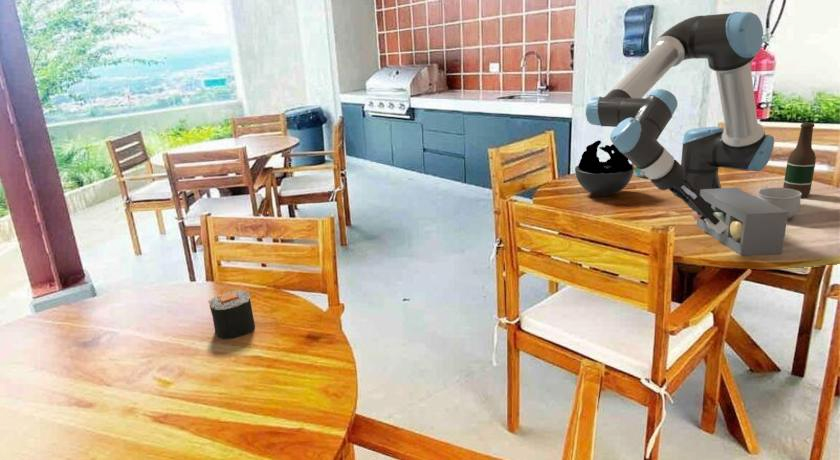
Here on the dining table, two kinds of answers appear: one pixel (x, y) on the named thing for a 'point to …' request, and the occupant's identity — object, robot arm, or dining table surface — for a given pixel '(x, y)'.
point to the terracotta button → (696, 216)
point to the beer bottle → (801, 163)
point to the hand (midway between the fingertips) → (722, 229)
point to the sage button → (720, 215)
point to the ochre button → (736, 229)
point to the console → (747, 221)
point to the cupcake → (637, 171)
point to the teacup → (782, 198)
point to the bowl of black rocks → (603, 170)
